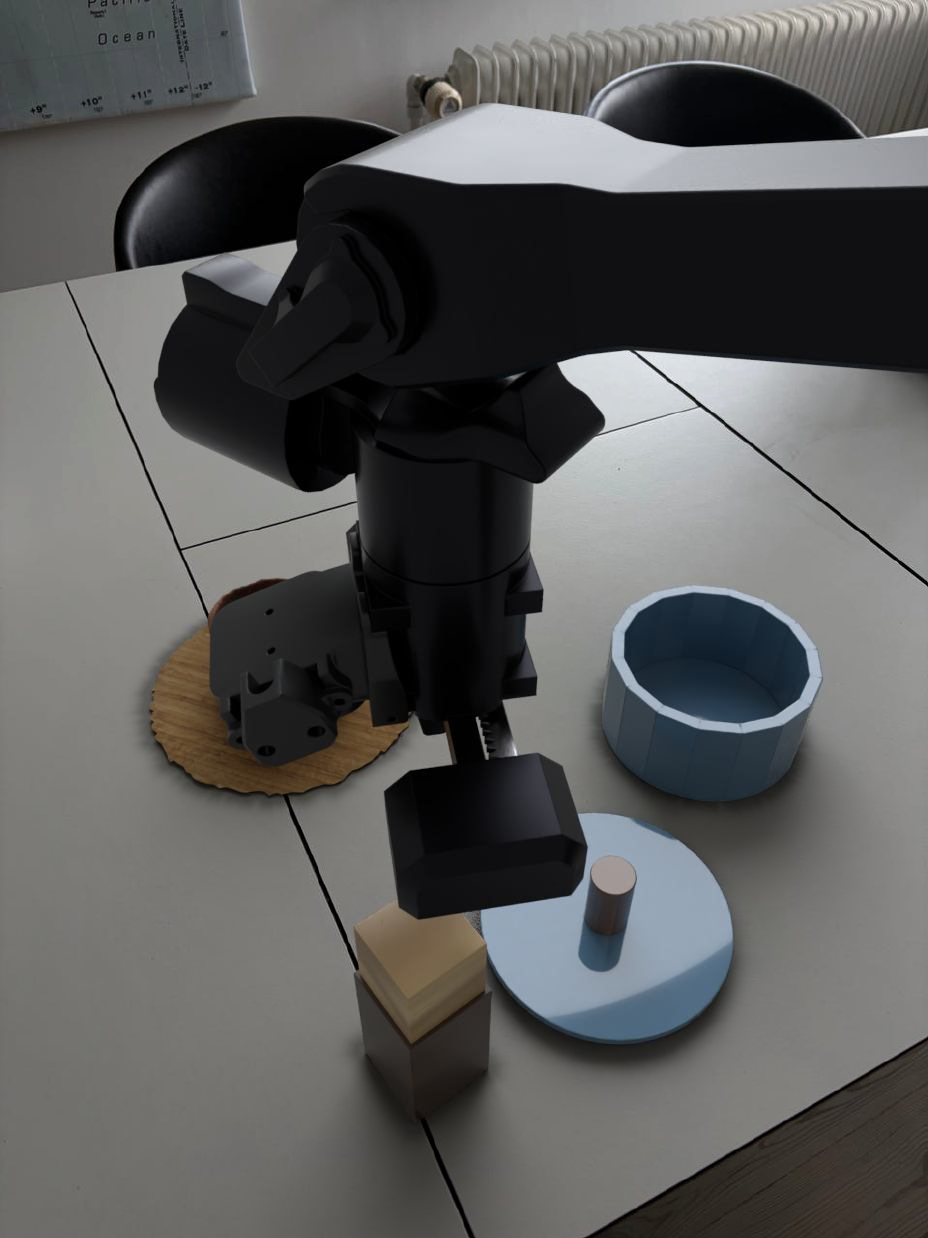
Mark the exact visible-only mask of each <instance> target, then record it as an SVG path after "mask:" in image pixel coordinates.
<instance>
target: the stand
mask: <svg viewBox="0 0 928 1238" xmlns="http://www.w3.org/2000/svg"><path fill="white" fill-rule="evenodd" d="M353 979H354V985H355V993H356V999H357V1006H358V1012H359V1013H358V1014H359V1020H360V1027H361V1033H362V1040H363V1047H364V1052H365V1053H366V1055H367V1056H368V1058H369V1060H370V1061H371V1062H372V1064H373V1065H374V1067H375V1068H376V1069H377V1071H378V1072H379V1074H380V1075H381V1077H382V1078H383V1079H384V1081H385V1082H386V1084H387V1085H388V1086H389V1088H390V1090H391V1091H392V1093H393V1094H394V1095H395V1097H396V1098H397V1100H398V1101H399V1103H400V1104H401V1105H402V1107H403V1108H404V1110H405V1111H406V1113H407V1115H408V1116H409V1117H410V1119H411V1120H412V1122H413V1123H414V1124H415V1125H418V1124H419V1123H420V1122H422V1120H424V1119H425V1118H426V1117H428V1116H429V1115H430V1114H432V1113H433V1112H434V1111H435V1110H437V1109H438V1108H439V1107H440V1106H442V1105H443V1104H444V1103H446V1102H447V1101H448V1100H449V1099H451V1098H452V1097H453V1096H454V1095H456V1094H457V1093H458V1092H459V1091H461V1090H462V1089H463V1088H465V1087H466V1086H467V1085H469V1084H470V1083H471V1082H473V1081H474V1080H475V1079H476V1078H478V1077H479V1076H480V1075H481V1074H483V1073H484V1072H485V1071H487V1070H488V1069H489V1060H490V1040H491V1019H492V1018H491V1017H492V995H493V991H492V989H491V988H490V987H489V985H488V984H487V983H486V986H485V990H484V991H483V992H482V993H480V994H479V995H477V996H476V997H475V998H473V999H472V1000H471V1001H469V1002H468V1003H467V1004H465V1005H464V1006H462V1007H461V1008H460V1009H458V1010H457V1011H456V1012H454V1013H453V1014H452V1015H450V1016H449V1017H448V1018H446V1019H445V1020H443V1021H442V1022H441V1023H439V1024H438V1025H437V1026H435V1027H434V1028H433V1029H431V1030H430V1031H428V1032H427V1033H426V1034H424V1035H423V1036H422V1037H420V1038H419V1039H418V1040H416V1041H415V1042H414V1043H412V1044H411V1043H410V1042H409V1041H408V1039H407V1038H406V1036H405V1035H404V1034H403V1032H402V1031H401V1030H400V1028H399V1027H398V1025H397V1024H396V1023H395V1021H394V1020H393V1019H392V1017H391V1016H390V1014H389V1013H388V1012H387V1010H386V1009H385V1008H384V1006H383V1005H382V1004H381V1002H380V1001H379V999H378V998H377V997H376V995H375V994H374V993H373V991H372V990H371V988H370V987H369V986H368V984H367V983H366V982H365V980H364V979H363V977H362V976H361V975H360V972H359V969H357V970H356V971H354V972H353Z"/></svg>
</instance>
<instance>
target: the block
mask: <svg viewBox="0 0 928 1238" xmlns="http://www.w3.org/2000/svg"><path fill="white" fill-rule="evenodd" d="M353 937H354V941H355V947H356V948H355V949H356V956H357V957H356V958H357V962H358V970H359V972H360V975H361V976H362V977H363V979H364V980H365V982H366V983H367V984H368V986H369V987H370V988H371V990H372V991H373V993H374V994H375V995H376V997H377V998H378V999H379V1001H380V1002H381V1004H382V1005H383V1006H384V1008H385V1009H386V1010H387V1012H388V1013H389V1014H390V1016H391V1017H392V1019H393V1020H394V1021H395V1023H396V1024H397V1025H398V1027H399V1028H400V1030H401V1031H402V1032H403V1034H404V1035H405V1036H406V1038H407V1039H408V1041H409V1042H410V1043H411V1044H412V1043H414V1042H415V1041H416V1040H418V1039H419V1038H420V1037H422V1036H423V1035H424V1034H426V1033H427V1032H428V1031H430V1030H431V1029H433V1028H434V1027H435V1026H437V1025H438V1024H439V1023H441V1022H442V1021H443V1020H445V1019H446V1018H448V1017H449V1016H450V1015H452V1014H453V1013H454V1012H456V1011H457V1010H458V1009H460V1008H461V1007H462V1006H464V1005H465V1004H467V1003H468V1002H469V1001H471V1000H472V999H473V998H475V997H476V996H477V995H479V994H480V993H482V992H483V991H484V990H485V986H486V984H487V960H488V957H487V943H486V942H485V941H484V939H483V938H482V936H481V934H480V933H479V932H478V931H477V929H475V928H474V926H473V925H472V924H471V922H469V920H468V919H467V918H466V917H465V916H464V915H463V913H459V914H453V915H447V916H440V917H434V918H428V919H422V920H417V919H416V918H414V917H413V916H411V915H410V914H408V913H406V912H405V911H403V910H402V909H400V908H399V906H398V899H397V898H395V899H394V900H392V901H391V902H389V903H388V904H386V905H385V906H383V907H381V908H380V909H378V910H376V912H374V913H372V914H371V915H369V916H368V917H366V918H364V919H363V920H362V921H360V922H359V923H357V924H355V925H354V926H353Z"/></svg>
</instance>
